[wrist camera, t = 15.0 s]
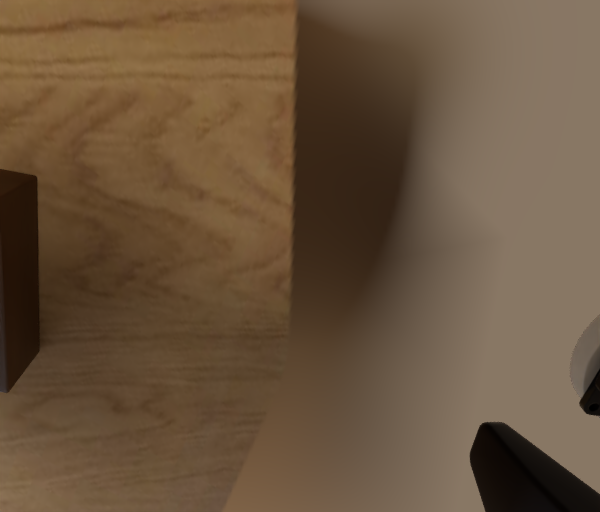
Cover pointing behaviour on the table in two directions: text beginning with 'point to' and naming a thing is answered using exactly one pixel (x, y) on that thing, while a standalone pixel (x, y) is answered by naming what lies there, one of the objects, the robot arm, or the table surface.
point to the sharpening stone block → (18, 276)
